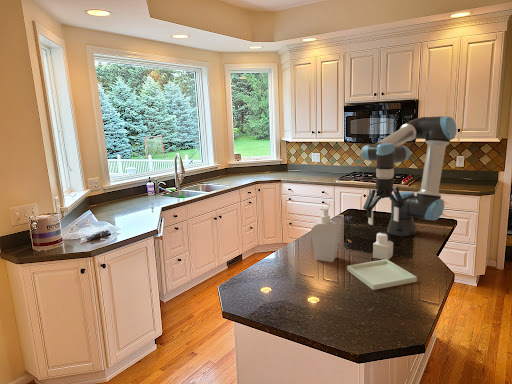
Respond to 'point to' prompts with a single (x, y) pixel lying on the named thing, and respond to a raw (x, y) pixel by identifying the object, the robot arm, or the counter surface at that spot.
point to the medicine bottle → (383, 246)
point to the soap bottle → (325, 237)
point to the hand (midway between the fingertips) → (383, 222)
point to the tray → (381, 274)
